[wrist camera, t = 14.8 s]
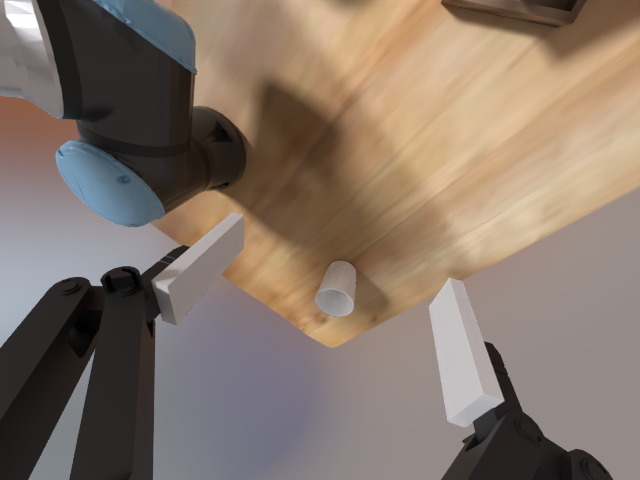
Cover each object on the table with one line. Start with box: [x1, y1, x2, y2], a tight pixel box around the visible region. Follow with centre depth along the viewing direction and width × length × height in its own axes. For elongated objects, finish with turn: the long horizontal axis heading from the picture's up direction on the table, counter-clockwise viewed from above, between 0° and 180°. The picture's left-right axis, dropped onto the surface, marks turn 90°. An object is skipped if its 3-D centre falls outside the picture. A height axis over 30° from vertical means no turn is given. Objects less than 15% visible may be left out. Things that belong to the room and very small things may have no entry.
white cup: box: [315, 260, 357, 317], centre depth 53 cm, size 8×8×10 cm
